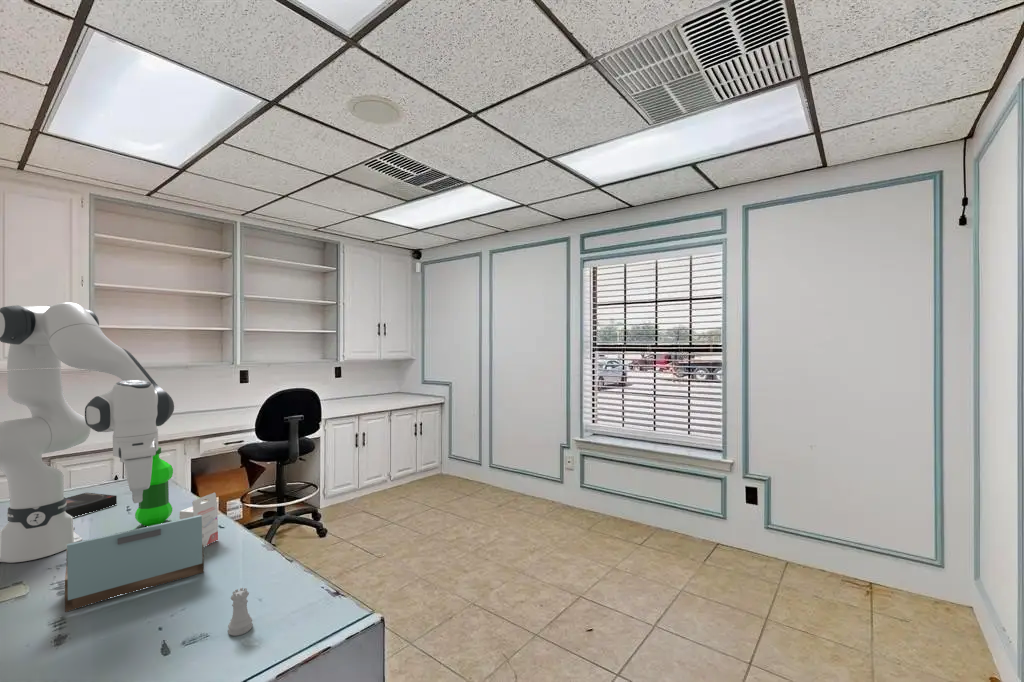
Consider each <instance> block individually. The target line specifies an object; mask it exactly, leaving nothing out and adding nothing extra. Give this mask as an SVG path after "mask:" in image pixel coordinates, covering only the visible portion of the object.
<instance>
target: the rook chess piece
mask: <svg viewBox="0 0 1024 682" xmlns="http://www.w3.org/2000/svg"><path fill="white" fill-rule="evenodd" d="M249 594H250V592H249V591H248V589H247V587H244V588H243V587H240V588H238V589H235V590H234V591H233V592H232V595H231V597H230V599H231V601H233V602H232V604H231V606H232V608H233V609H232V615H231V618H230V622H229V623H228V626H227V628H228V630H227V633H228V634H229V635H230V636H232V637H238V636H242V635H244V634H246V633H248V632H249V631H250V630H251V629H252V628H253V626H254V624H253V618H252V617H251V615H250V613H249V611H248V602H249V601H248V599H247V598H248V597H249Z"/></svg>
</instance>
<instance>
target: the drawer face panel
mask: <svg viewBox="0 0 1024 682" xmlns="http://www.w3.org/2000/svg"><path fill="white" fill-rule="evenodd" d="M66 550H67V563H66V564H67V578H68V600H71V599H75V598H78V597H82V596H86V595H89V594H93V593H97V592H100V591H104V590H107V589H111V588H115V587H118V586H122V585H126V584H129V583H133V582H136V581H140V580H144V579H147V578H151V577H155V576H158V575H162V574H165V573H169V572H173V571H176V570H180V569H183V568H187V567H191V566H194V565H198V564H202V516H201V515H198V516H194V517H189V518H185V519H180V518H179V519H177V520H171V521H167V522H166V521H165V522H164V523H162V524H157V525H153V526H148V527H145V526H144V527H139V528H134V529H130V530H125V531H121V532H118V533H117V532H115V533H112V534H107V535H102V536H98V537H94V538H89V539H85V540H82V541H79V542H74V543H70V544H67V549H66Z"/></svg>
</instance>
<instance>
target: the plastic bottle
mask: <svg viewBox="0 0 1024 682" xmlns="http://www.w3.org/2000/svg"><path fill="white" fill-rule="evenodd" d="M160 454H162V447H160V446H158V450H157V451H156V454H155V455H154V456H153V461H152V473H151V482H150V487H149V488H148V489H145V490H143V495H142V496H143V500H142V502H140V503H138V507H137V508H136V511H135V512H134V518H135V520H136V522H138V523H139V524H141V525H143V526H144V527H145V526H153V525H157V524H161V523H163V522H164V523H165V522H166V520H168V519H169V518H170V517H171V515H172V512H173V506H172V504H171V503H170V499H169V498H170V497H169V488H170V487H169V481H170V480H171V479H172V477H173V474H174V468H173V466H172V465H171V464H170V463H168V462H167V461H165V460H163V459H162V458H160Z"/></svg>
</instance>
